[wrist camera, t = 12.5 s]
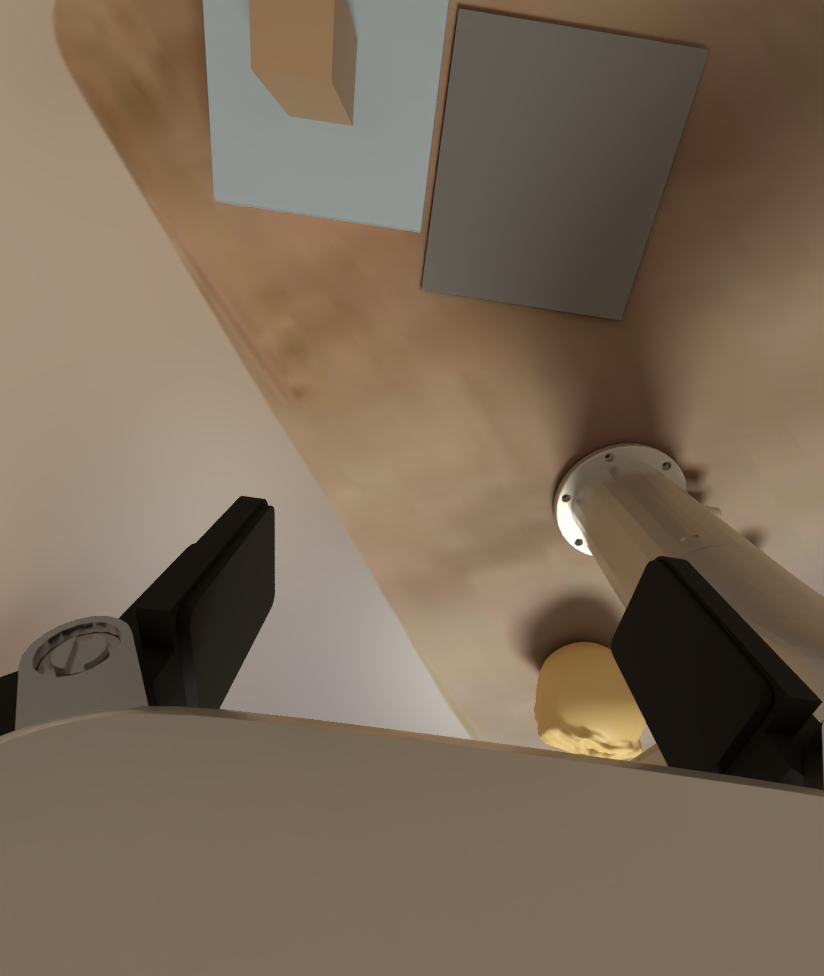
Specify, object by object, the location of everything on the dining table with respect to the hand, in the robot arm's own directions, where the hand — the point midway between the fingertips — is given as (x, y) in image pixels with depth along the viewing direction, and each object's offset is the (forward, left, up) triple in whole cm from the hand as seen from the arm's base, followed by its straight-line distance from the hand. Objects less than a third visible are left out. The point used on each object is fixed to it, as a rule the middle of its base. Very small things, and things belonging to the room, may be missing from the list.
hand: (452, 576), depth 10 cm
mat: (-6, -15, -30) cm, 34 cm away
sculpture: (-23, +33, -31) cm, 51 cm away
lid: (+10, -17, -25) cm, 32 cm away
